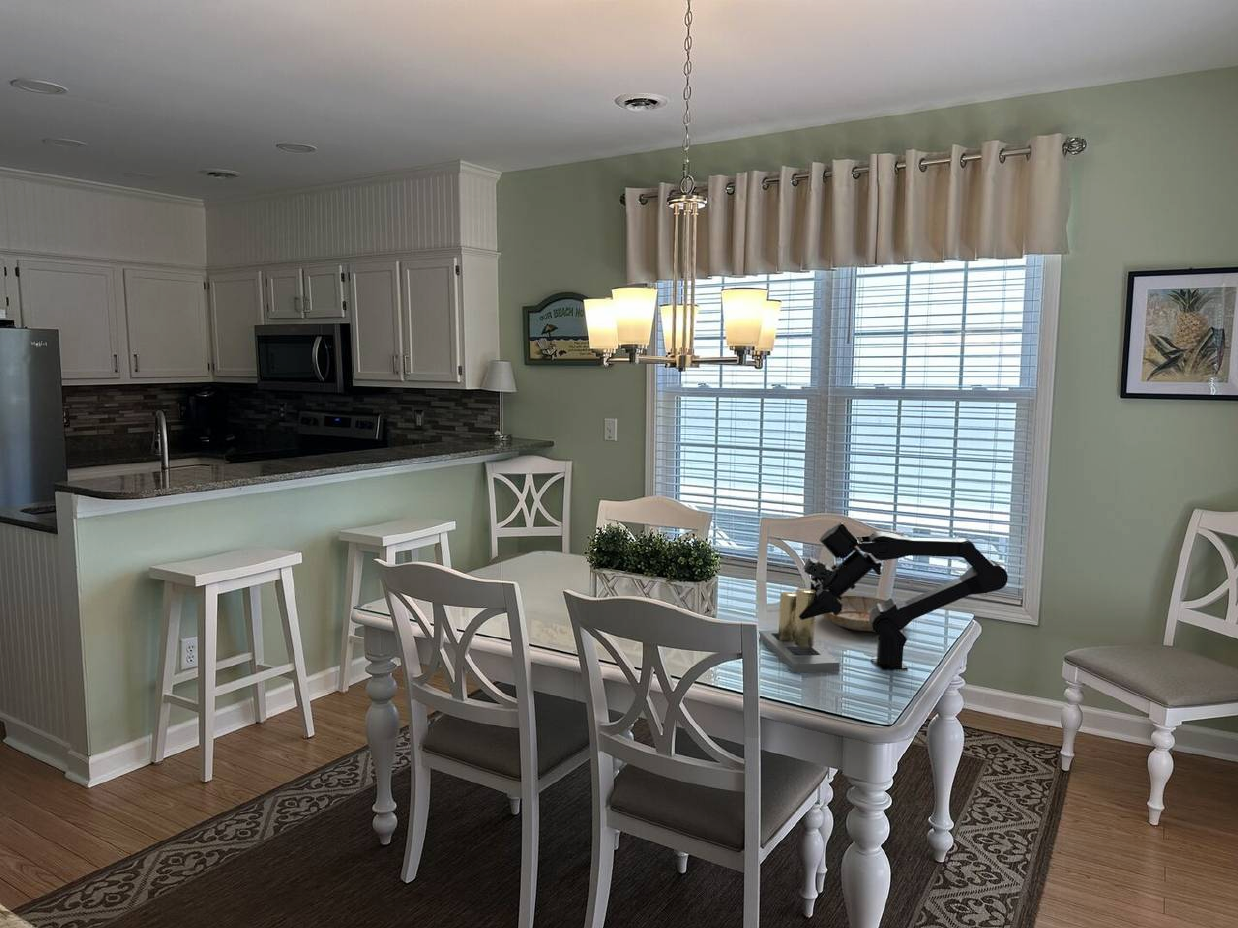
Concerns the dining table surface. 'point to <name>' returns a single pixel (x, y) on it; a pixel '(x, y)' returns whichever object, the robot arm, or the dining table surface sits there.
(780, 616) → the cylinder
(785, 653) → the frame
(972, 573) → the robot arm
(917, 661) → the dining table surface
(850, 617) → the ceramic bowl
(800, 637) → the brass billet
